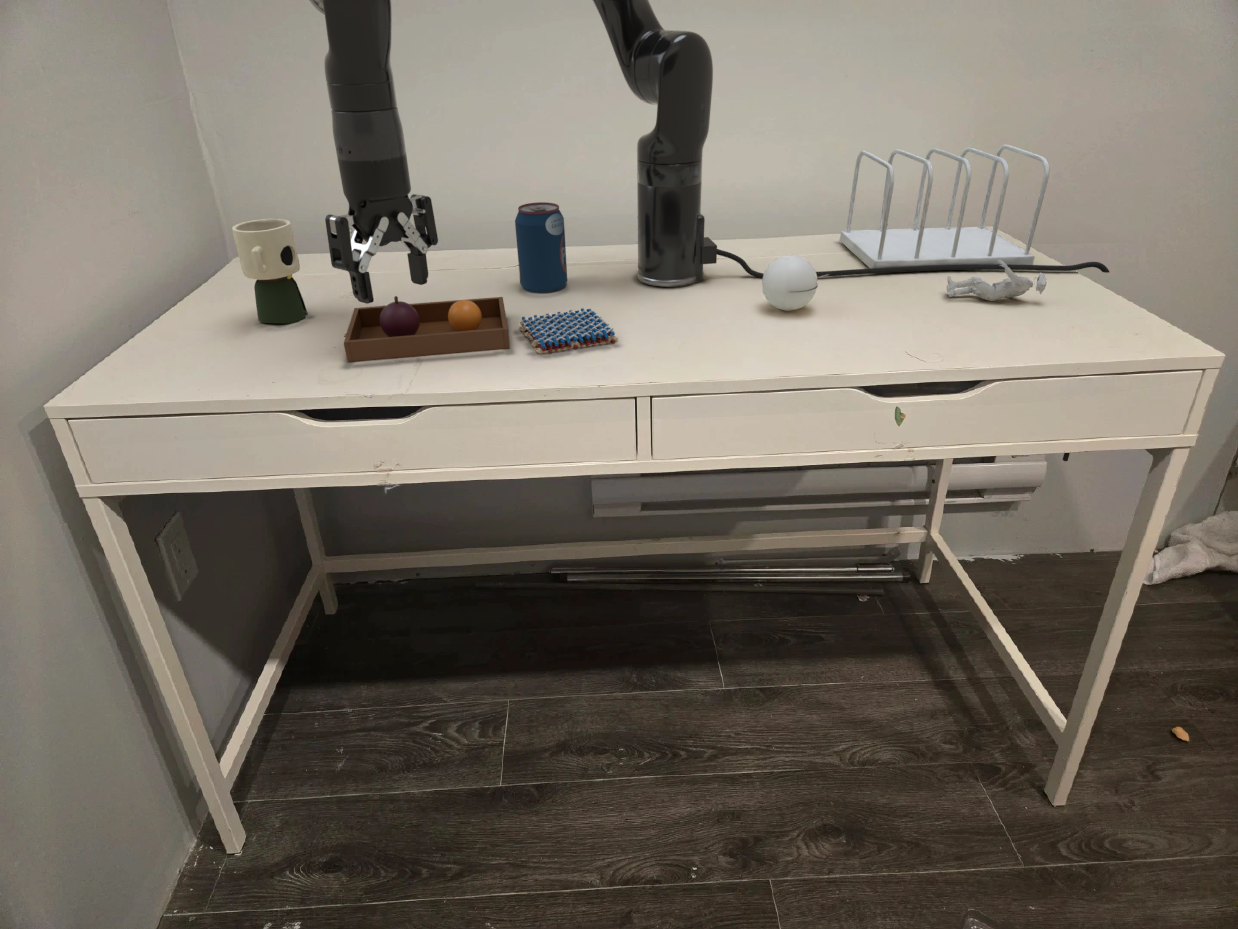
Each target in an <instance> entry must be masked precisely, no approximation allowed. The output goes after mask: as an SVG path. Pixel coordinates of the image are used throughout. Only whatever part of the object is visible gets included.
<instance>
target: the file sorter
mask: <svg viewBox="0 0 1238 929" xmlns="http://www.w3.org/2000/svg"><path fill="white" fill-rule="evenodd" d="M1004 150H1009V151H1011V152H1015V153H1017V154H1020V155H1022V156H1024V157H1028V158H1031V159H1033V160H1036V161H1039V162H1040V163H1042V166H1043V176H1042V177H1043V178H1042V182H1041V185H1040V186H1041V187H1040V191H1039V195H1038V198H1037V202H1036V207H1035V210H1034V214H1033V218H1032V222H1031V225H1030V228H1029V232H1028V236H1027V240H1026V245H1025V249H1024V248H1022V247H1020V246H1019V245H1017V244H1015V243H1014V242H1012V241H1011V240H1008V239H1006V238H1005V237H1003V236H1002V235H999V233H998V229H999V225H1000V220H1001V216H1002V211H1003V206H1004V201H1005V197H1006V192H1007V187H1008V183H1009V177H1010V168H1009V164H1008V162H1007V160H1006V159H1005V158H1003V157H1000V156H1001V154H1002V152H1003V151H1004ZM969 152H970V153H973V154H975V155H978V156H980V157H984V158H987V159H989V160H992V161H993V162H992V167H991V171H990V176H989V181H988V184H987V188H986V194H985V198H984V202H983V208H982V212H981V216H980V220H979V226H962V225H963V221H964V216H965V211H966V205H967V200H968V195H969V190H970V185H971V180H972V169H971V168H972V167H971V163H970V162H969V160H968V159H967V158H965V156H966V155H967V153H969ZM933 153H935V154H937V155H940V156H942V157H946V158H949V159H951V160H954V161H956V162H958V163H957V168H956V174H955V178H954V184H953V190H952V195H951V199H950V206H949V210H948V216H947V222H946V227H925V226H926V221H927V215H928V210H929V204H930V200H931V192H932V187H933V182H934V170H933V165H932V162H931V161H930V158H931V156H932V155H933ZM897 154H898V155H901V156H902V157H905V158H908V159H911V160H914V161H916V162H918V163H921V164H923V166H922V173H921V178H920V183H919V190H918V196H917V202H916V209H915V214H914V220H913V226H912V228H888V223H889V218H890V210H891V203H892V198H893V192H894V184H895V174H894V173H895V172H894V168H893V161H894V157H895V155H897ZM864 156H865V157H867V158H869V159H870V160H872V161H874V162H875V163H877V164H879V165H881V166H883V167H884V168H885V169H886V174H885V182H884V183H885V184H884V190H883V198H882V205H881V206H882V207H881V213H880V214H881V215H880V222H879V223H880V224H879V229H855V230H852V229H851V226H852V221H853V213H854V207H855V202H856V201H855V200H856V192H857V185H858V179H859V172H860V164H861V162H862V158H863V157H864ZM998 163H1000V164H1001V166H1002V169H1003V177H1002V178H1003V179H1002V184H1001V188H1000V195H999V199H998V204H997V208H996V213H995V218H994V223H993V227H992V230H991V229H989V228H988V227H985V223H986V222H985V221H986V217H987V212H988V208H989V205H990V198H991V194H992V189H993V185H994V180H995V176H996V172H997V167H998ZM963 165H964V167H965V181H964V182H965V183H964V188H963V190H962V191H963V192H962V197H961V204H960V209H959V214H958V218H957V224H956V226H955V227H952V226H951V225H952V222H953V220H952V219H953V215H954V209H955V204H956V199H957V194H958V189H959V183H960V178H961V173H962V169H963V168H962V167H963ZM1049 177H1050V165H1049V162H1048V159H1047V158H1046V157H1044V156H1042V155H1039V154H1036V153H1034V152H1031V151H1029V150H1026V149H1022V148H1020V147H1015V146H1014V145H1012V144H1011V145H1010V144H1002V145H1001V146H999V148H997V150H996V153H995V155H994V154H991V153H989V152H986V151H984V150H980V149H977V148H974V147H965V148H964V149H963V151H962V152H961V154H960V155H958V154H954V153H952V152H949V151H946V150H943V149H940V148H937V147H933V148H930V149H929V150H928V151H927V153H926V155H925V157H921V156H919V155H916V154H914V153H911V152H908V151H906V150H903V149H900V148H895V149H893V150H892V151H891V152H890V155H889V157H888V161H885V160H884V159H882V158H880V157H879V156H877V155H875V154H873V153H872V152H869V151H867V150H861V151H860V152H859V153H858V155H857V158H856V161H855V167H854V172H853V181H852V187H851V194H850V199H849V200H850V202H849V208H848V216H847V222H846V229H845V230H841V231H840V235H839V241H840V243H841V244H843V245H844V246H845V247H847V249H848V250H849V251H851V253H852V254H854V255H855V256H856V257H857V258H858V259H859V260H860V261H861V262H863V263H864V264H865V265H866V266H867V267H868V269H870V268H886V267H904V266H926V265H961V264H1001V263H998V260H1001V261H1003V262H1004V263H1005V264H1015V265H1034V261H1035V257H1036V256H1035V255H1034V254H1032V253H1031V252H1030V251H1031V248H1032V243H1033V239H1034V236H1035V232H1036V228H1037V225H1038V221H1039V218H1040V217H1039V216H1040V213H1041V209H1042V205H1043V201H1044V199H1045V193H1046V190H1047V186H1048V182H1049ZM926 179H927V184H926V190H925V196H924V200H923V195H924V188H925V183H926ZM922 200H923V202H924V203H923V207H922V213H921V219H920V212H921V206H922ZM919 219H920V224H919ZM918 224H919V227H918Z"/></svg>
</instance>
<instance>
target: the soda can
mask: <svg viewBox="0 0 1238 929" xmlns="http://www.w3.org/2000/svg"><path fill="white" fill-rule="evenodd" d="M517 211H518V212H517V214H516V217H515V219H514V226H515V227H514V228H515V238H516V250H517V262H518V273H519V274H518V275H519V284H520V286H521V287H522V289H523V290H524V291H526V292H528V293H533V294H549V293H554V292H558V291H561V290H563V289H564V288H565V287H566V285H567V283H568V266H567V265H568V264H567V250H566V249H567V248H566V232H565V231H566V230H565V217H564V215H563V213H562V212H561V210H560V205H559V204H558V203H553V202H545V201H544V202H542V201H541V202H539V201H537V202H530V203H524V204H521V205H519V206H518V208H517Z"/></svg>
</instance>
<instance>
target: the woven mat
mask: <svg viewBox="0 0 1238 929" xmlns="http://www.w3.org/2000/svg"><path fill="white" fill-rule="evenodd" d="M519 325H520V327H518V329H519V330H520V331H521V332H522V335H523V336H524V337H526V338H527V339H528V338H529V341H531V346H532V347H533V348H534V351H536V353H537V354H539V355H541V354H542V355H543V354H548V353H550V354H552V353H555V352H561V351H567V350H568V351H569V350H573V349H574V350H577V349H580V348H586V347H587V348H588V347H592V346H599V345H605V344H610V343H611V344H615V343H616V342H618V341H619V338H618V337H616V332H615V331H614V328H611V327H610V324H609V323H606V321H605V320H604V319H602V316H599V315H598V312H596V311H595V310H594V309H593V310H592V308H587V309H586V310H585V308H580V310H579V309H578V310H575V311H573V310H572V309H570V310H568V311H565V312H563V313H561V311H557V314H556V313H552V314H551V315H550V314H549V313H546V314H545V315H540V316H539V317H538V315H537V314H534V315H533V317H532V316H529V317H528V318H526V316H522V317H521V321H519Z"/></svg>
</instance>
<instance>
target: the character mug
mask: <svg viewBox="0 0 1238 929" xmlns="http://www.w3.org/2000/svg"><path fill="white" fill-rule="evenodd" d="M231 232H232V236H233V239H234V244H235V247H236V251H237V255H238V256H237V257H238V259H239V263H240V268H241V270H242V274H243V276H244V277H246V278H247V279H249V280H255V282H254V297H255V307H256V314H257V320H258V321H259V323H263V324H282V325H283V324H286V325H287V324H288V325H289V324H293V323H297V322H300V321H302V320H304V319H306V317H307V316H306V315H308V314H309V313H308V309H307V306H306V304H305V300H304V298H303V296H302V293H301V291H300V288H299V286H298V283H297V281H296V280H295V278H294V277H293V274H296V273H298V272H299V271H300V270H301V264H300V259H299V255H298V251H297V247H296V246H297V245H296V242H295V237H294V232H293V229H292V223H291V221H290V220H288V219H284V218H261V219H253V220H247V221H243V222H240V223H236V224H235V225H233V226H232V228H231Z"/></svg>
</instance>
